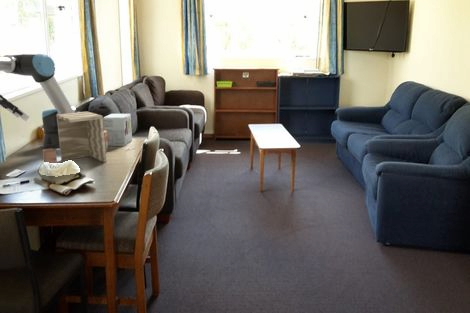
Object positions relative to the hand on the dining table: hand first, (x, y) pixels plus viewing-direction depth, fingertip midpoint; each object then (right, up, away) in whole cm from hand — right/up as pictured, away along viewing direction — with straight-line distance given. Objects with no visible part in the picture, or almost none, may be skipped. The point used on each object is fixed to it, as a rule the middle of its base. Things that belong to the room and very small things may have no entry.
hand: (23, 117), depth 231 cm
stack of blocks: (+18, -17, +47) cm, 53 cm away
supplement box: (+31, -11, +68) cm, 76 cm away
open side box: (+22, -22, +24) cm, 40 cm away
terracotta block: (+10, -26, +10) cm, 29 cm away
